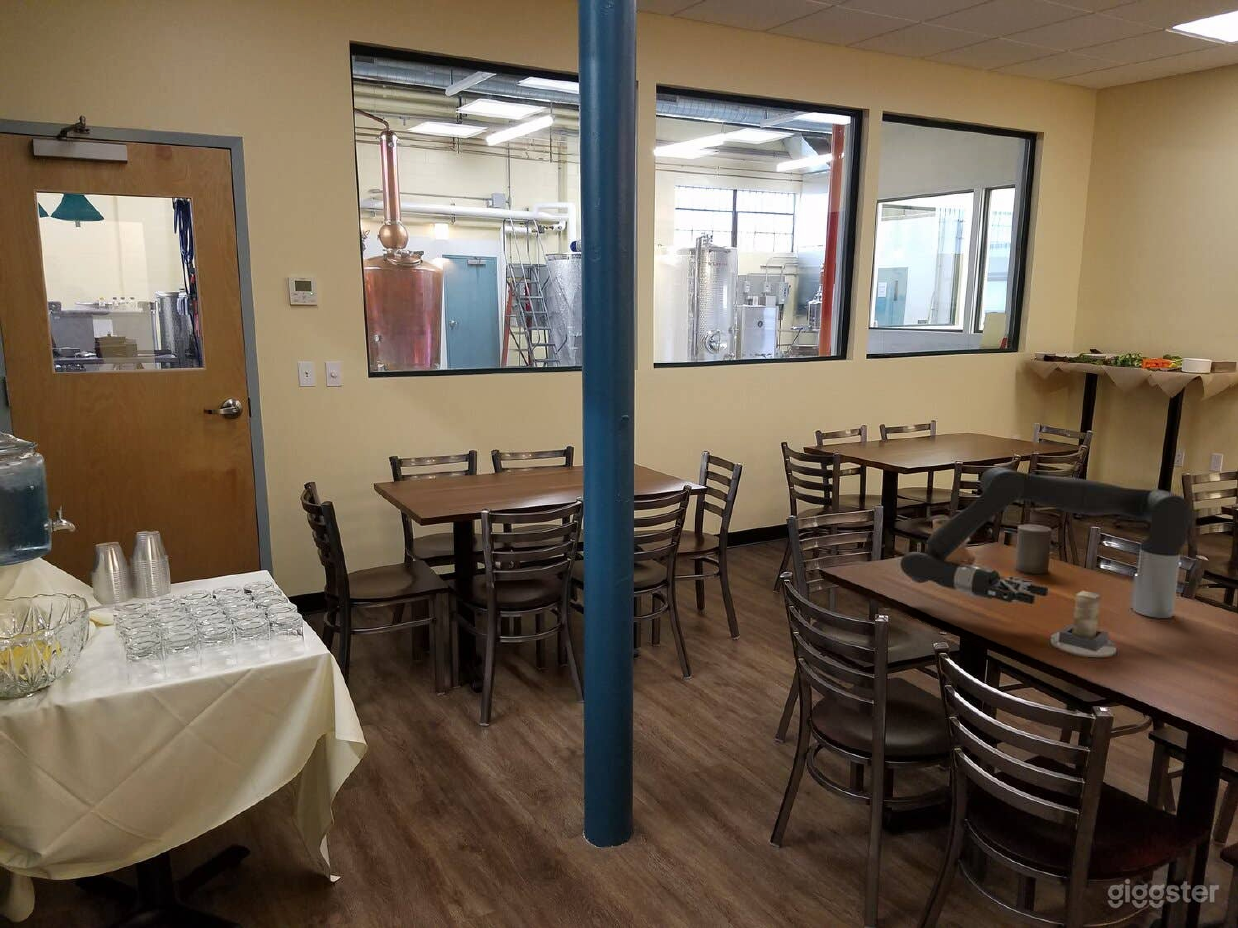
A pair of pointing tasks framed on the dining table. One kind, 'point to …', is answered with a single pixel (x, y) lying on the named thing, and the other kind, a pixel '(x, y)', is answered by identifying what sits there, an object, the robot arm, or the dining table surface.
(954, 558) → the ceramic jug
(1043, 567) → the pillar candle
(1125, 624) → the dining table surface
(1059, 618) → the dining table surface
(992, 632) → the dining table surface
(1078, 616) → the beige rectangular block
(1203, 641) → the dining table surface
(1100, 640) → the rosette plate
